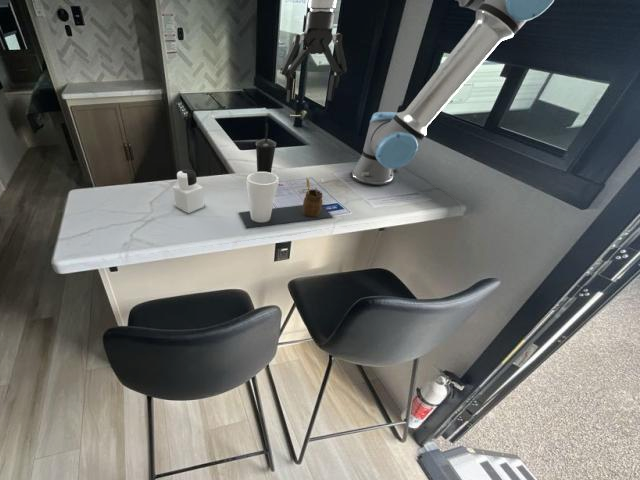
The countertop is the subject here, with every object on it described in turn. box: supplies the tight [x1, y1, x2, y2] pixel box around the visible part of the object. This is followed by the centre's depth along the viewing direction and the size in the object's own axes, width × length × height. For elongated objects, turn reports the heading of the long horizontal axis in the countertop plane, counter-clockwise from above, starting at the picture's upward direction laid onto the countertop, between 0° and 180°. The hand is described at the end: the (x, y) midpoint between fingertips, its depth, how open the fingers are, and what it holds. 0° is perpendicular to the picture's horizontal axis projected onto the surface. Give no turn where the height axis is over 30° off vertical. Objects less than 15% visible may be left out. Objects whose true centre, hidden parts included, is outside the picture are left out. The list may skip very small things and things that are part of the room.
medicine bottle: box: [172, 168, 205, 214], centre depth 106 cm, size 7×7×12 cm
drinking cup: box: [254, 123, 277, 173], centre depth 119 cm, size 8×8×20 cm
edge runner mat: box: [238, 204, 333, 229], centre depth 106 cm, size 29×10×1 cm, turn 104°
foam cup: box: [246, 171, 280, 222], centre depth 100 cm, size 10×9×13 cm
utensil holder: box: [302, 177, 326, 217], centre depth 102 cm, size 6×6×12 cm
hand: (309, 101), depth 102 cm, fingers open, 13 cm apart
